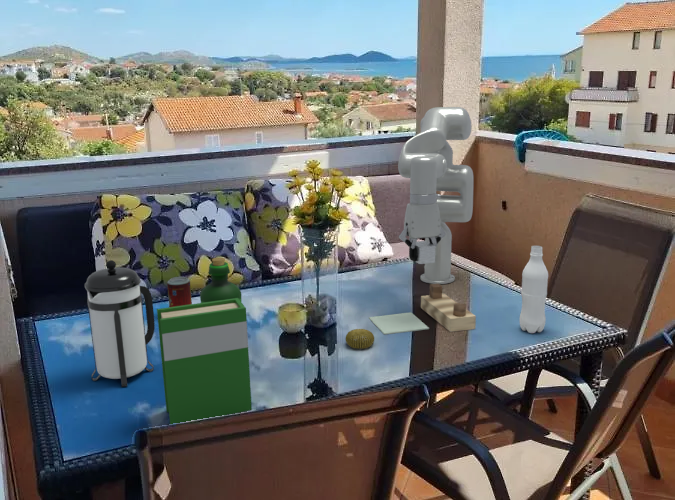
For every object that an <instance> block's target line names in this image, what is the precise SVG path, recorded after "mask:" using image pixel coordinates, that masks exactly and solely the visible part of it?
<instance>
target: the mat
mask: <svg viewBox="0 0 675 500" xmlns="http://www.w3.org/2000/svg"><path fill="white" fill-rule="evenodd" d="M368 319H369V320H370V321H371V322H372V324H373V325H374V326H375V327H377V329H378V330H379V331H380V332H381V333H382V335H392V334H401V333H407V332H408V333H409V332H410V333H411V332H416V331H423V330H425V331H426V330H429V329H430V327H429V326H428V325H426V324H425V323H424V322H422V320H421V319H420V318H418V317H417V316H416V315H415V314H414V313H412V311H410V312H402V313H395V314H386V315H385V314H384V315H378V316H377V315H376V316H369V317H368Z"/></svg>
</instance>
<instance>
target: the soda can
mask: <svg viewBox="0 0 675 500" xmlns="http://www.w3.org/2000/svg"><path fill="white" fill-rule="evenodd" d="M166 287H167V296H168V297H167V298H168V307H175V306H183V305H190V304H193V301H192V291H191V280H190V279H189V278H187V277H186V276H174V277H172V278H170V279H168V281H167V283H166Z"/></svg>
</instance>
